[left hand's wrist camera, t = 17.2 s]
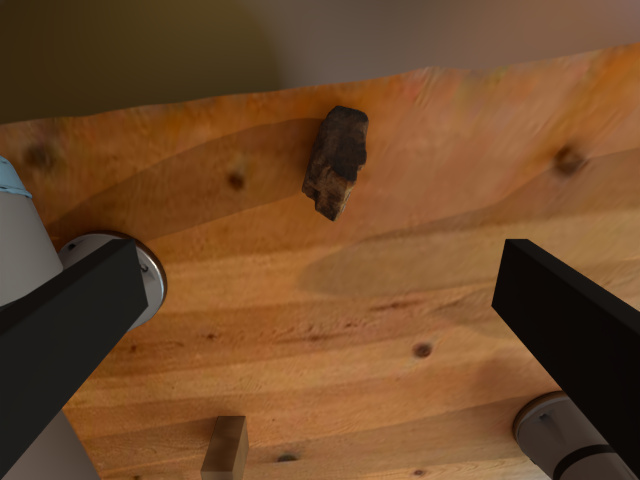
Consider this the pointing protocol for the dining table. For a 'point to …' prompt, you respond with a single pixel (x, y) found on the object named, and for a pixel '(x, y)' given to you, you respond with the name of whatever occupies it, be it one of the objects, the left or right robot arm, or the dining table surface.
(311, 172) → the decorative rock
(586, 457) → the right robot arm
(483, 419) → the dining table surface
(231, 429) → the brick
